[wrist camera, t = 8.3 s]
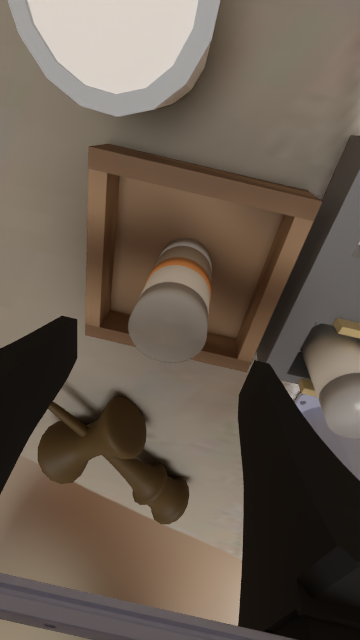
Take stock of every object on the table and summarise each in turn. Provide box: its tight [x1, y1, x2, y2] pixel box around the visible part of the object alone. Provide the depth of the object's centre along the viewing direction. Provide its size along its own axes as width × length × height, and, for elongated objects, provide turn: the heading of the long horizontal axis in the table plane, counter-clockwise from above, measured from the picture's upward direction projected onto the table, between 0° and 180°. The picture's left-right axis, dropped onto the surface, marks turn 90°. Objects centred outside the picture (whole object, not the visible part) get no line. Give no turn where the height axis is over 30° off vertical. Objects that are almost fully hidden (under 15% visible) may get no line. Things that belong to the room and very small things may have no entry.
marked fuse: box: [128, 238, 212, 363], centre depth 17 cm, size 4×4×8 cm
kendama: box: [38, 397, 189, 524], centre depth 30 cm, size 6×10×20 cm
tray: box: [85, 144, 322, 372], centre depth 19 cm, size 12×12×3 cm
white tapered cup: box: [8, 0, 220, 117], centre depth 12 cm, size 7×7×7 cm
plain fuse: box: [300, 322, 360, 439], centre depth 19 cm, size 4×4×8 cm
